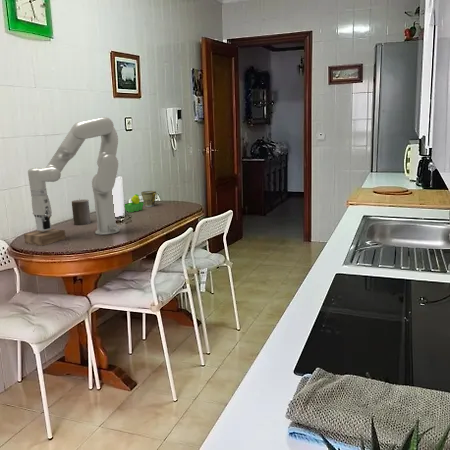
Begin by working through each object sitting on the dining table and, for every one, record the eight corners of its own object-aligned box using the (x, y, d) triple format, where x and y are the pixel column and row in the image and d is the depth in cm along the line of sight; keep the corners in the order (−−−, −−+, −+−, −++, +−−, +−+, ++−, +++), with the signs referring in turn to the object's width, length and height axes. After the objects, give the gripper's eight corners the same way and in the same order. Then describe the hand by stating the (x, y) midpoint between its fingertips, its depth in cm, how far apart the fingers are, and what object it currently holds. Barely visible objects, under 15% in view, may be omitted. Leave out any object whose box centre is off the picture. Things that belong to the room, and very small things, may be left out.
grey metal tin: (51, 229, 252) (49, 215, 251) (42, 231, 248) (40, 217, 247) (45, 228, 255) (43, 215, 254) (37, 230, 251) (35, 216, 250)
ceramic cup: (139, 207, 337) (137, 192, 334) (149, 204, 344) (148, 190, 342) (152, 208, 329) (151, 193, 327) (163, 205, 337) (162, 191, 334)
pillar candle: (74, 226, 286) (71, 200, 283) (73, 223, 295) (70, 198, 292) (92, 224, 290) (89, 198, 286) (89, 221, 299) (87, 196, 295)
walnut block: (65, 239, 255) (64, 230, 254) (42, 246, 244) (41, 236, 242) (48, 237, 263) (47, 228, 261) (25, 243, 251) (23, 234, 250)
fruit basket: (137, 209, 329) (135, 192, 327) (146, 210, 323) (144, 193, 321) (123, 212, 321) (121, 195, 319) (132, 213, 315) (130, 195, 313)
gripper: (55, 192, 245) (60, 228, 249) (35, 191, 256) (40, 225, 260) (42, 194, 240) (47, 231, 244) (22, 193, 250) (27, 228, 254)
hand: (44, 227), depth 252 cm, fingers closed on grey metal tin, 5 cm apart
